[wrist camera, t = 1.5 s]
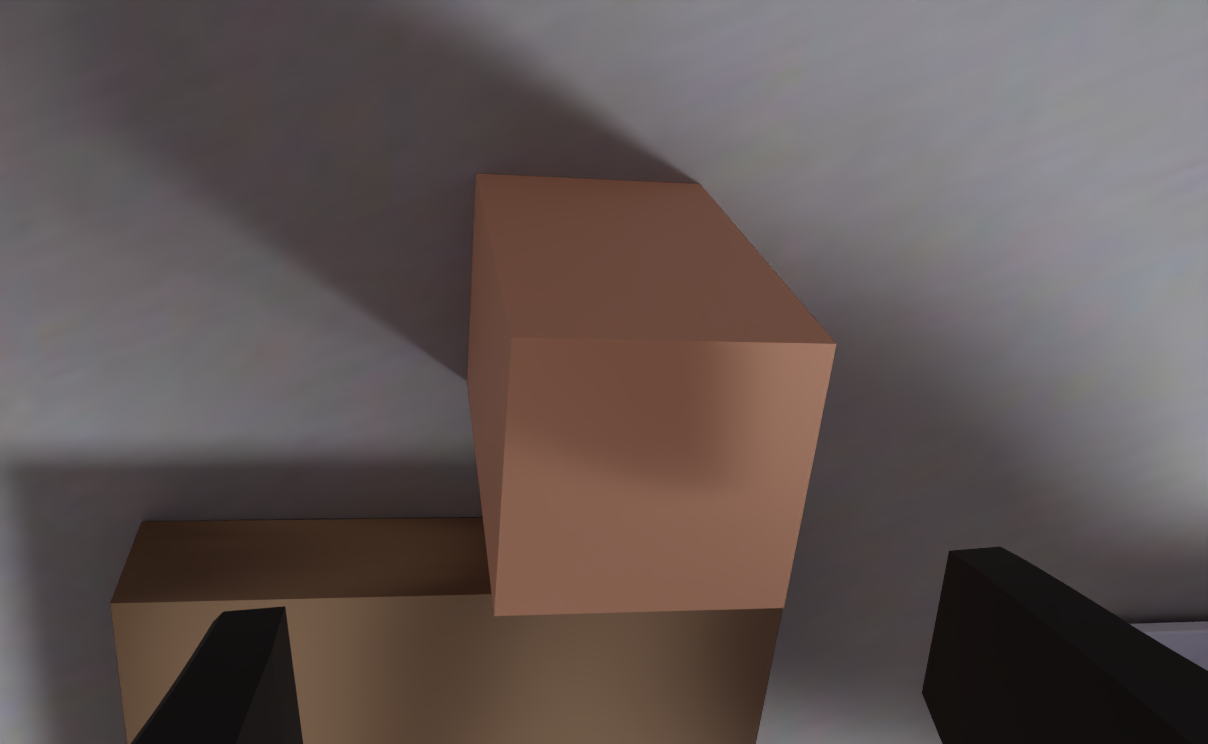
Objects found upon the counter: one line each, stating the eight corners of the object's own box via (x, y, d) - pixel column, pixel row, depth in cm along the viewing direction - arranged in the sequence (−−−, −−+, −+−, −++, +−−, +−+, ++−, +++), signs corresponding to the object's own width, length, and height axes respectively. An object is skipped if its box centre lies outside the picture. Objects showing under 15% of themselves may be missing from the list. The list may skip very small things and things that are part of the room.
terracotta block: (699, 183, 20) (836, 344, 13) (673, 383, 21) (784, 607, 15) (475, 173, 19) (510, 337, 13) (467, 381, 21) (493, 616, 14)
